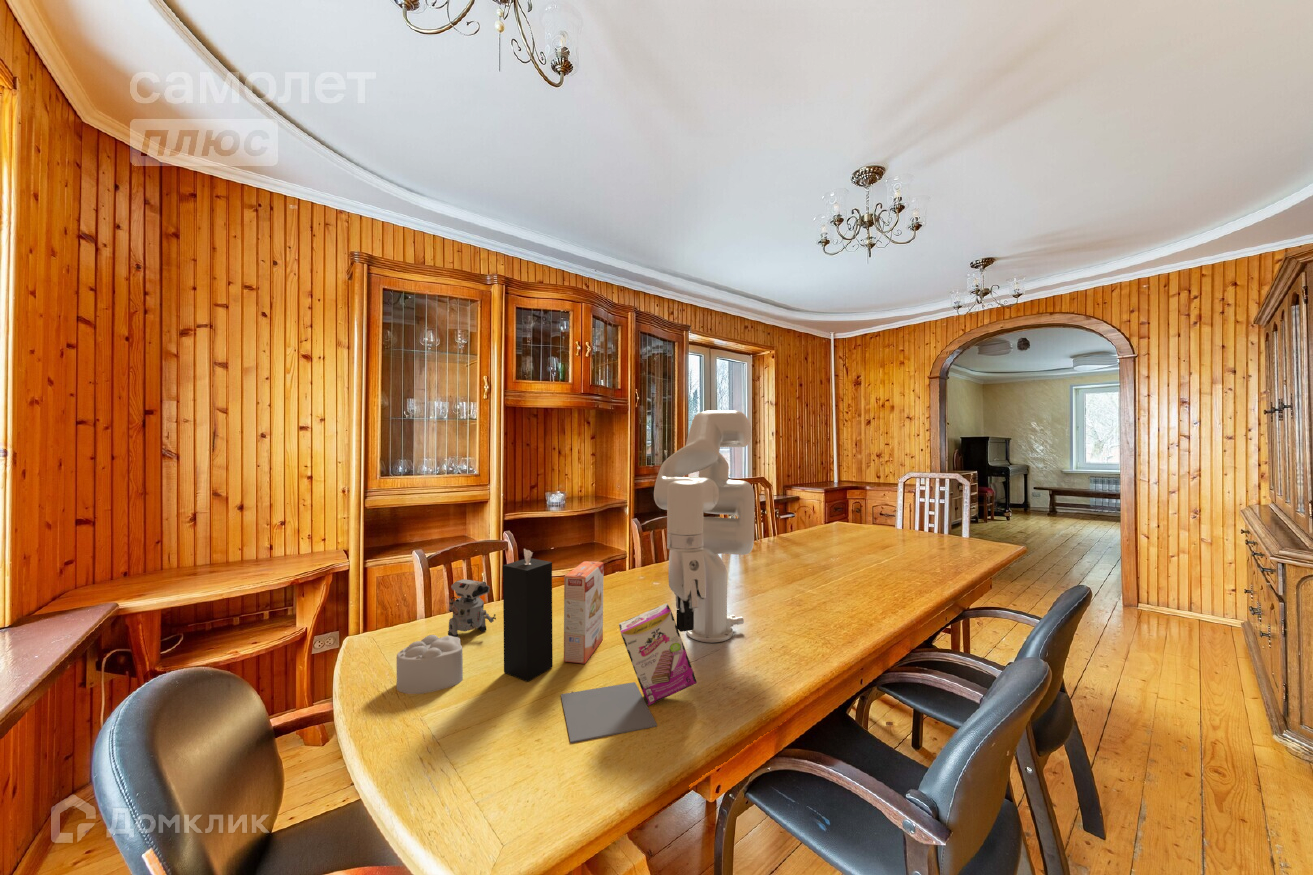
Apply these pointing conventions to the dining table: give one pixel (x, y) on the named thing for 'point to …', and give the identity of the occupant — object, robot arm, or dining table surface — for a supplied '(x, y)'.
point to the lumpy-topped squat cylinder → (430, 665)
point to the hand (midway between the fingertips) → (685, 629)
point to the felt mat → (605, 712)
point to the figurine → (468, 607)
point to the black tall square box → (527, 617)
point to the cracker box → (583, 611)
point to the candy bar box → (657, 653)
